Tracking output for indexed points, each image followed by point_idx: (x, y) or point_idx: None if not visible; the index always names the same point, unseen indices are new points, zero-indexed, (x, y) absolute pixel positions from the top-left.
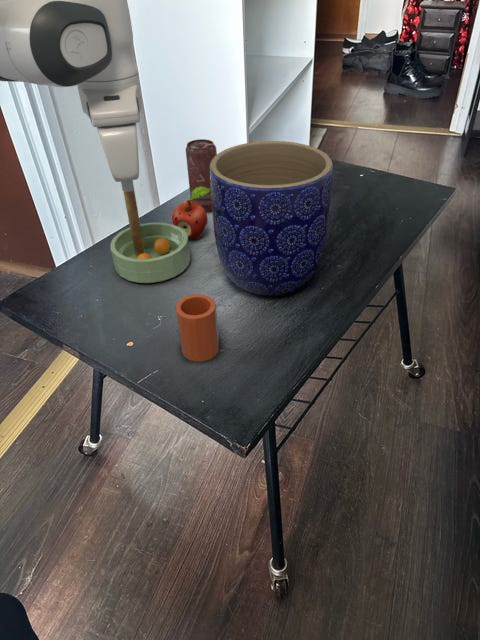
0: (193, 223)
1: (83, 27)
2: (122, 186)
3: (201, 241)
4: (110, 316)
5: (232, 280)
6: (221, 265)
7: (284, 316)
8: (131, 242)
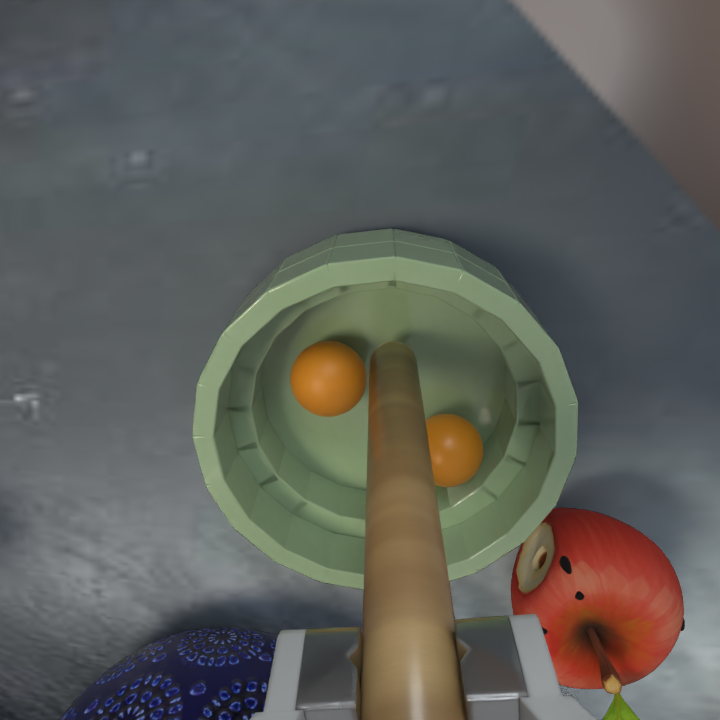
0: (515, 613)
1: None
2: (274, 671)
3: (516, 557)
4: (25, 223)
5: (141, 650)
6: (171, 660)
7: (50, 697)
8: (492, 329)
